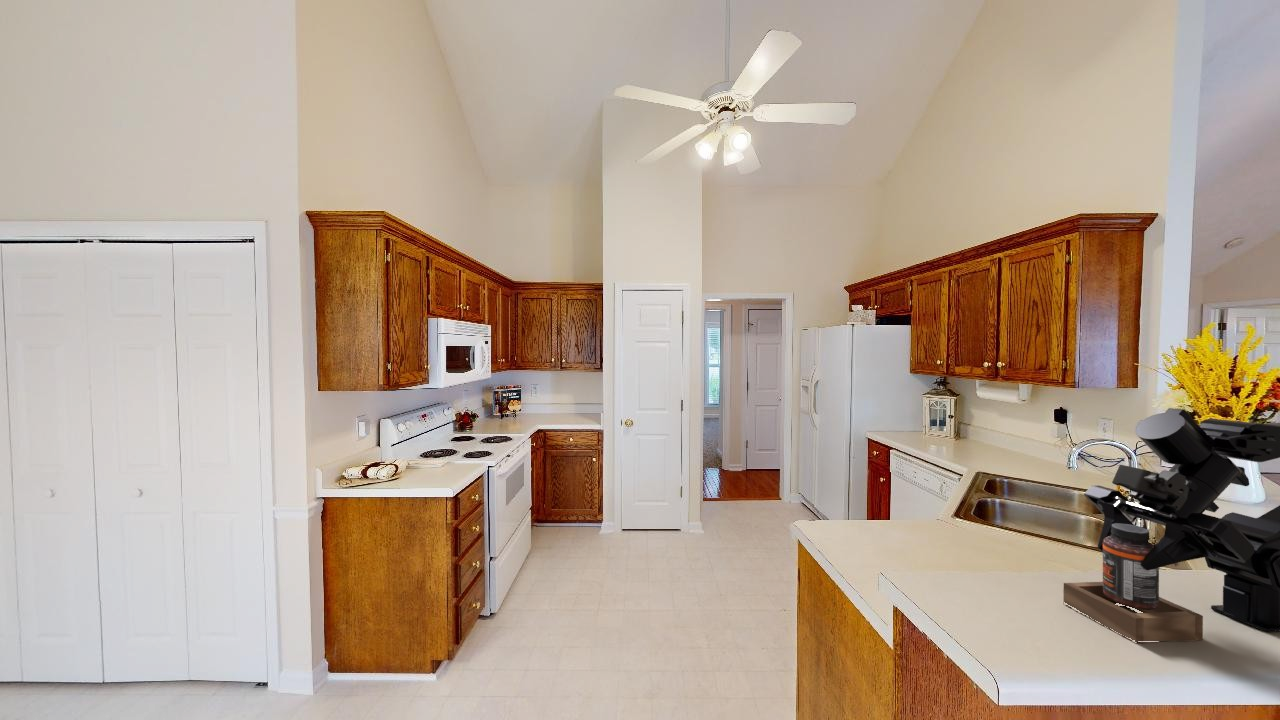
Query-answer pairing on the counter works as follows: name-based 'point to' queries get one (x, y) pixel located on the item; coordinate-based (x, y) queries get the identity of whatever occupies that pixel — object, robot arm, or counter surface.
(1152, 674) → the counter surface
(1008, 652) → the counter surface
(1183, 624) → the socket collar
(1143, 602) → the supplement bottle
